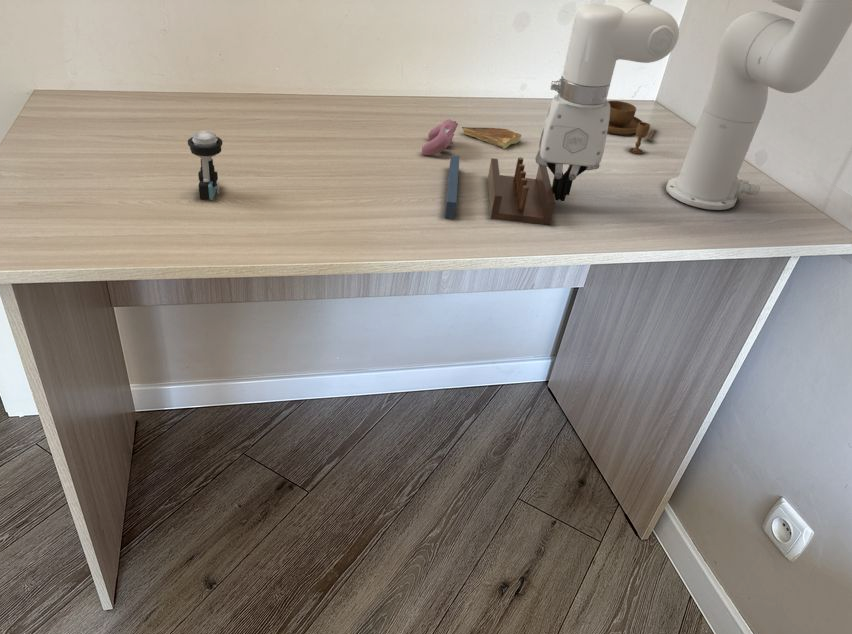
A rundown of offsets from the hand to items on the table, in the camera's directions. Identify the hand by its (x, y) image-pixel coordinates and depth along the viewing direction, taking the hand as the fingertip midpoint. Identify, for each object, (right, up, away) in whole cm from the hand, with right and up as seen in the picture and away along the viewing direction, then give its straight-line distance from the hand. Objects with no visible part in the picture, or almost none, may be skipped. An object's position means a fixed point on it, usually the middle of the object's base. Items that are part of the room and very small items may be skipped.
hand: (558, 197), depth 120 cm
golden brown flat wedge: (-8, +17, +23) cm, 30 cm away
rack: (-7, 0, +1) cm, 7 cm away
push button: (-60, -1, -5) cm, 60 cm away
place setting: (+20, +22, +34) cm, 45 cm away
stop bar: (-19, +1, +2) cm, 19 cm away
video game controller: (-20, +13, +18) cm, 30 cm away
